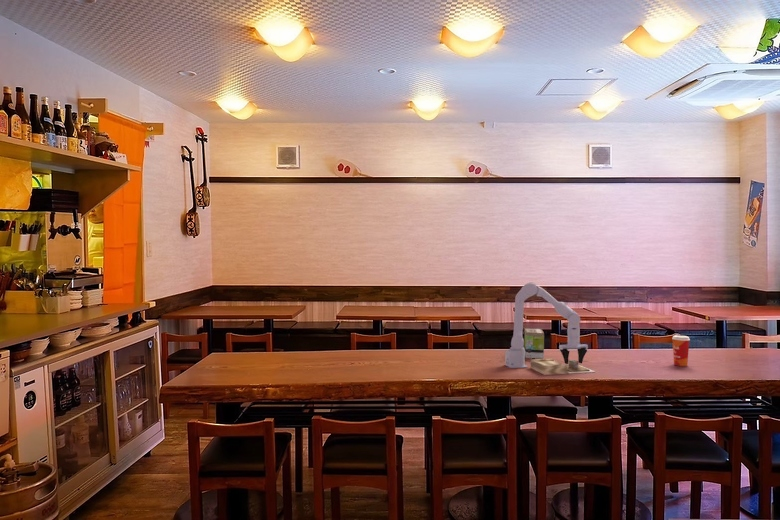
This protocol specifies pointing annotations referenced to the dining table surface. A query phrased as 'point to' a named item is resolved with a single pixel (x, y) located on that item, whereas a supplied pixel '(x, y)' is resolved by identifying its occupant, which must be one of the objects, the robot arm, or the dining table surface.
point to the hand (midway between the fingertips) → (573, 363)
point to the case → (548, 366)
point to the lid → (575, 367)
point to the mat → (582, 371)
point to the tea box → (534, 343)
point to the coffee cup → (680, 350)
